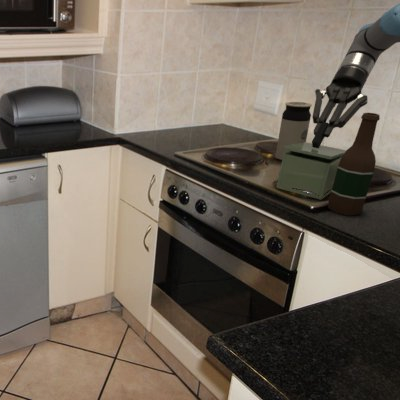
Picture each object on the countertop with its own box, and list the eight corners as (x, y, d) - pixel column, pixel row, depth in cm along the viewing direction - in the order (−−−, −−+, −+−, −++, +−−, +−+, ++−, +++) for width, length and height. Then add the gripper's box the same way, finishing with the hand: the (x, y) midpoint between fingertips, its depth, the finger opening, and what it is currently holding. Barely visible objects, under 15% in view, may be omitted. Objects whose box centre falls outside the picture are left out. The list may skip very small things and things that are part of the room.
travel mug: (269, 157, 158) (278, 102, 152) (287, 154, 161) (297, 100, 154) (289, 163, 151) (299, 106, 145) (308, 160, 154) (319, 104, 147)
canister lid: (331, 159, 119) (332, 156, 119) (283, 149, 127) (284, 146, 127) (347, 153, 129) (348, 150, 128) (302, 144, 136) (303, 141, 136)
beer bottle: (355, 205, 121) (383, 111, 112) (367, 217, 114) (398, 118, 105) (321, 202, 123) (346, 109, 113) (331, 214, 116) (359, 116, 106)
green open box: (321, 200, 124) (330, 164, 120) (275, 187, 132) (283, 153, 128) (338, 187, 133) (347, 153, 129) (295, 176, 140) (302, 144, 136)
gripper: (379, 86, 128) (343, 158, 124) (327, 80, 137) (291, 147, 133) (380, 68, 123) (341, 142, 119) (325, 63, 132) (287, 131, 127)
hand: (315, 144), depth 126 cm, fingers closed
